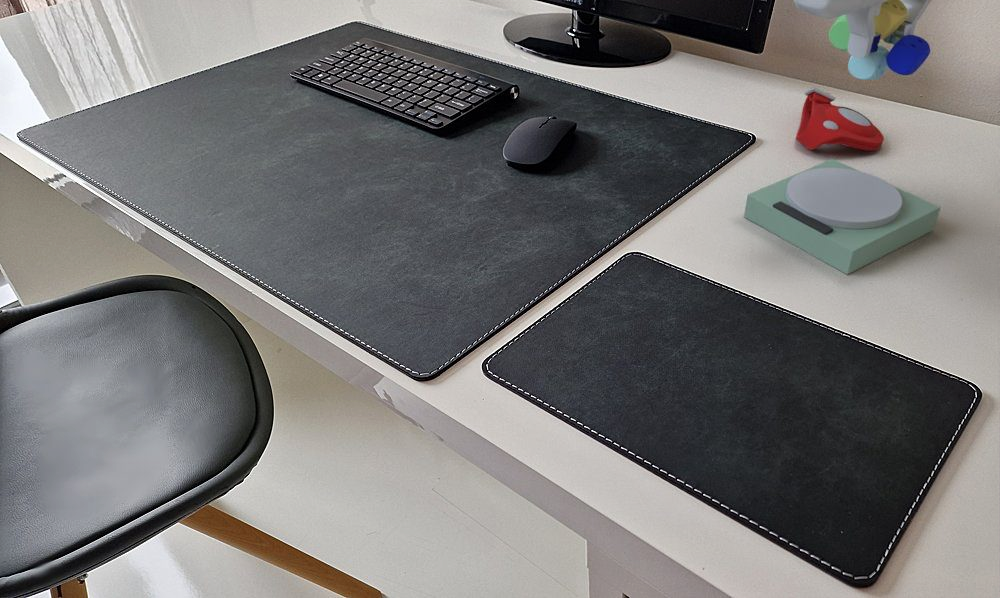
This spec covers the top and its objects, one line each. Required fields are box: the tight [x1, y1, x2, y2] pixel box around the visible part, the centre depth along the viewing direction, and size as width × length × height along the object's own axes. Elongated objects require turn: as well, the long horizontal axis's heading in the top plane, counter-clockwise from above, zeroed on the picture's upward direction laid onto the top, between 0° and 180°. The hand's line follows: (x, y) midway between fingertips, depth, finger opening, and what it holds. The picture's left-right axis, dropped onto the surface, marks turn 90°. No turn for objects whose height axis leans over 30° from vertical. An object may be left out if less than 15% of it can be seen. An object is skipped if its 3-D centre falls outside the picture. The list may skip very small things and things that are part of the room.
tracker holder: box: [795, 86, 884, 152], centre depth 88 cm, size 12×4×10 cm
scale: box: [743, 158, 941, 275], centre depth 74 cm, size 12×12×3 cm
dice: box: [828, 0, 931, 81], centre depth 65 cm, size 8×3×6 cm, turn 44°
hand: (879, 48), depth 65 cm, fingers closed on dice, 3 cm apart
